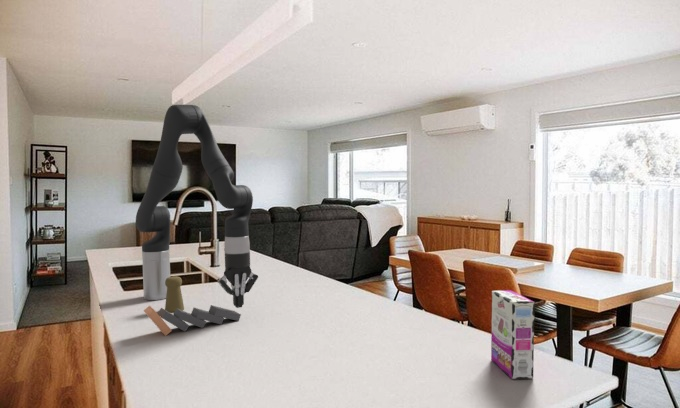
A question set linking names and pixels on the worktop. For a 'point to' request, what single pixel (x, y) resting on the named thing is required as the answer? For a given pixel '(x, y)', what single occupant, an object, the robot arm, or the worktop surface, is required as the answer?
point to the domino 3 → (206, 316)
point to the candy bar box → (512, 334)
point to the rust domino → (157, 320)
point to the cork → (173, 294)
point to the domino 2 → (189, 318)
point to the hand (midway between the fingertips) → (238, 306)
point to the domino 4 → (224, 313)
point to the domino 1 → (173, 319)
